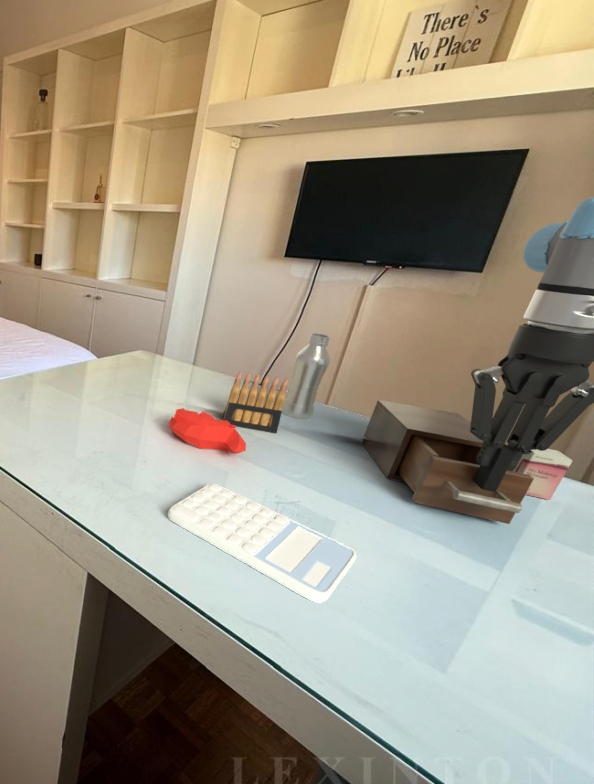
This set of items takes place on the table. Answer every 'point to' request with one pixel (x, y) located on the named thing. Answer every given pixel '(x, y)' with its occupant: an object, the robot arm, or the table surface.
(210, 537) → the calculator
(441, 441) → the drawer
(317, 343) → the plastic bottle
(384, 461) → the cabinet
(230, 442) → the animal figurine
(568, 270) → the robot arm
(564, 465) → the small box
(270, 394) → the ammunition clip
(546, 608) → the table surface
